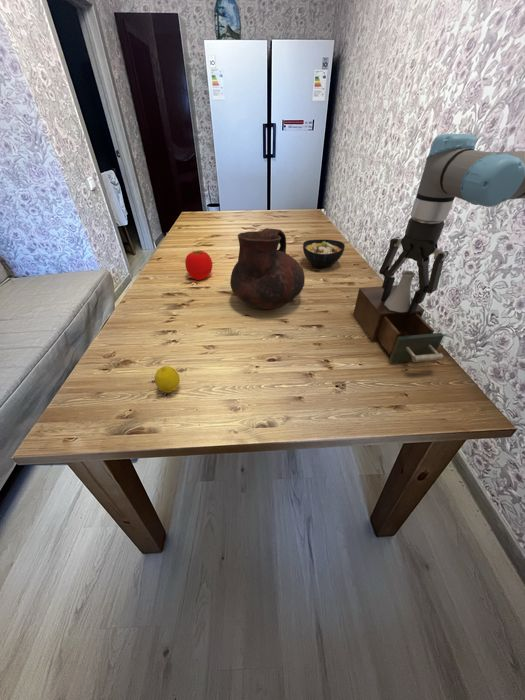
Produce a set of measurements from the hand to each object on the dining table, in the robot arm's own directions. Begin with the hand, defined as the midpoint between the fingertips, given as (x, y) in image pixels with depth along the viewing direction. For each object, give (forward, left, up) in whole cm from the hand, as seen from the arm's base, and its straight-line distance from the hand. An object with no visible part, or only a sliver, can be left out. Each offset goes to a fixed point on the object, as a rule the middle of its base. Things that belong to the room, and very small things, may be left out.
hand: (397, 305), depth 79 cm
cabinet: (+4, -2, -10) cm, 11 cm away
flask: (0, 0, 0) cm, 0 cm away
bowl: (+47, -21, -10) cm, 53 cm away
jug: (+38, +16, -10) cm, 43 cm away
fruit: (+19, +61, -10) cm, 65 cm away
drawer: (-8, +4, -9) cm, 13 cm away
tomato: (+70, +26, -10) cm, 76 cm away
